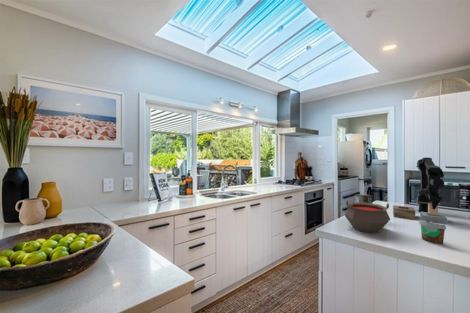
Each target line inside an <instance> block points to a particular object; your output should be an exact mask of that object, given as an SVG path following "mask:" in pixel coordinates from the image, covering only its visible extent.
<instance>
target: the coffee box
mask: <svg viewBox="0 0 470 313" xmlns="http://www.w3.org/2000/svg"><path fill="white" fill-rule="evenodd" d="M354 198H355V199H354V202H364V203H371V204H373V195H370V194H367V193H365V194H361V193H357V194H355V195H354Z"/></svg>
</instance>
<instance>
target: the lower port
mask: <svg viewBox="0 0 470 313" xmlns="http://www.w3.org/2000/svg"><path fill="white" fill-rule="evenodd" d="M419 215H420V219H422V218H425V220H426V221H430V222H435V223H437V224H444V225H447V224H448V217H446V215H444V213H438V216H437V215H429V213H428V212H419Z"/></svg>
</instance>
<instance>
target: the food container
mask: <svg viewBox="0 0 470 313" xmlns="http://www.w3.org/2000/svg"><path fill="white" fill-rule="evenodd" d="M418 224H420V230H421V231H420V232H421V234H420V235H421V240H423V241H425V242H427V243H431V244H436V245H437V244H438V245H444V239H445V238H444V237H445V231H446V230H447V226H446V224H441V223H437V222H430V221H426V220H425V218H420V219H419V222H418Z"/></svg>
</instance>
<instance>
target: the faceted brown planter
mask: <svg viewBox="0 0 470 313" xmlns="http://www.w3.org/2000/svg"><path fill="white" fill-rule="evenodd" d="M345 203H346V206H347V209H346V211H345V213H344V216H345V218H346V220H347V221H348V222H349V224H350V225H351V227H352V228H354V229H355V230H356V231H358V232H359V231H360V232H362V233H363V232H364V233H368V234H379V232H380V231H382V229H384V227H385V226H386V225H387V224H388V223H389V222H390V221H391V217H390V215H389V213H388V211H387V210H389V208H390V204H389V203H386V206H384V205H381V204H377V203H372V204H371V203H364V202H355V201H354V202H352V201H351V202H349V201H348V200H346V201H345Z"/></svg>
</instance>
